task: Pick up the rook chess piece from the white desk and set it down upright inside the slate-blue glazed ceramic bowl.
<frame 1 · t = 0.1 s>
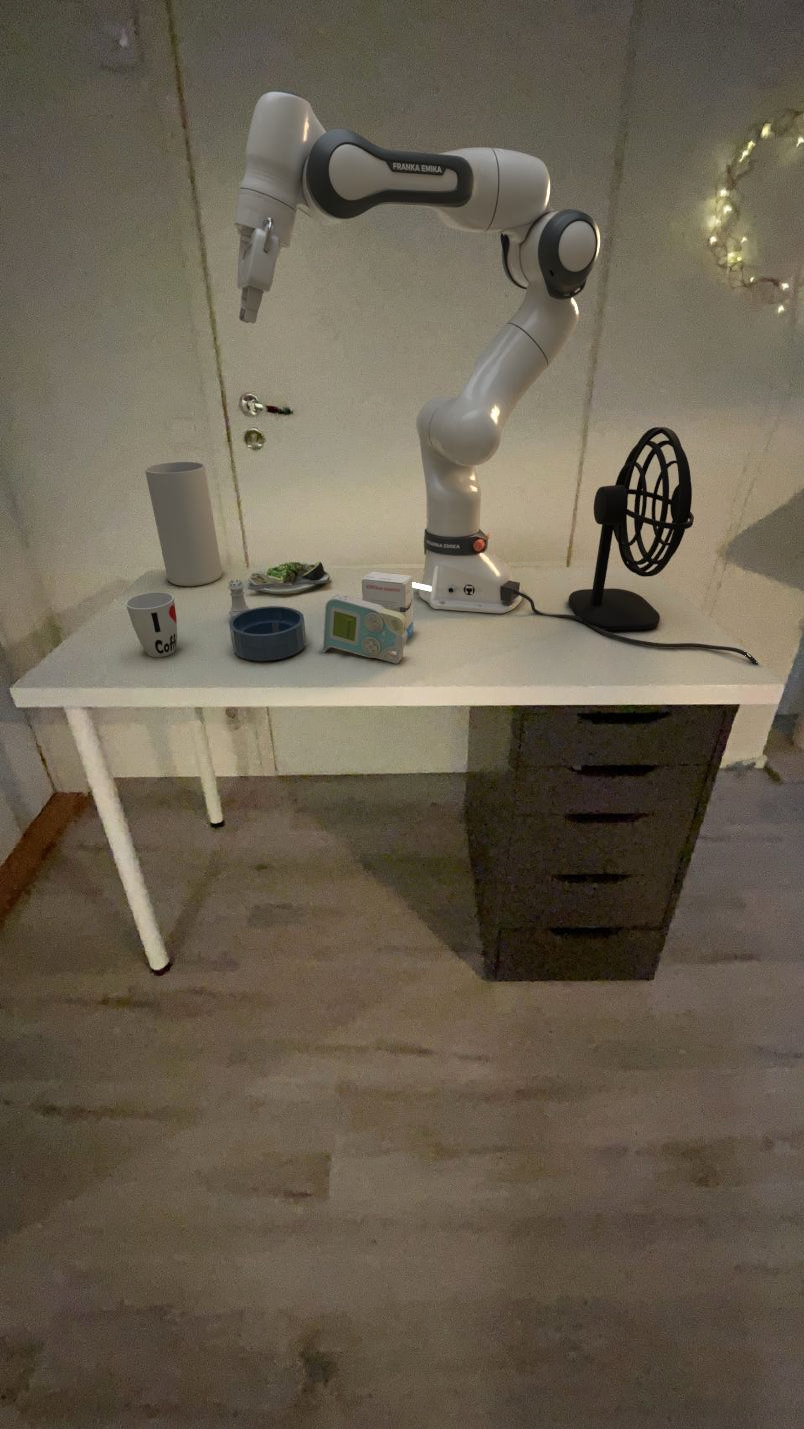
hand: (246, 322, 108), 52 cm above the table, tool tilted 20°, fingers open, 8 cm apart
cup: (161, 652, 121), on the table
bowl: (270, 647, 122), on the table
salad plate: (292, 583, 151), on the table
ink box: (389, 636, 126), on the table
desk fan: (616, 614, 134), on the table
rook chess piece: (241, 620, 133), on the table
cylinder vase: (195, 578, 155), on the table
handheld gaming console: (364, 657, 118), on the table
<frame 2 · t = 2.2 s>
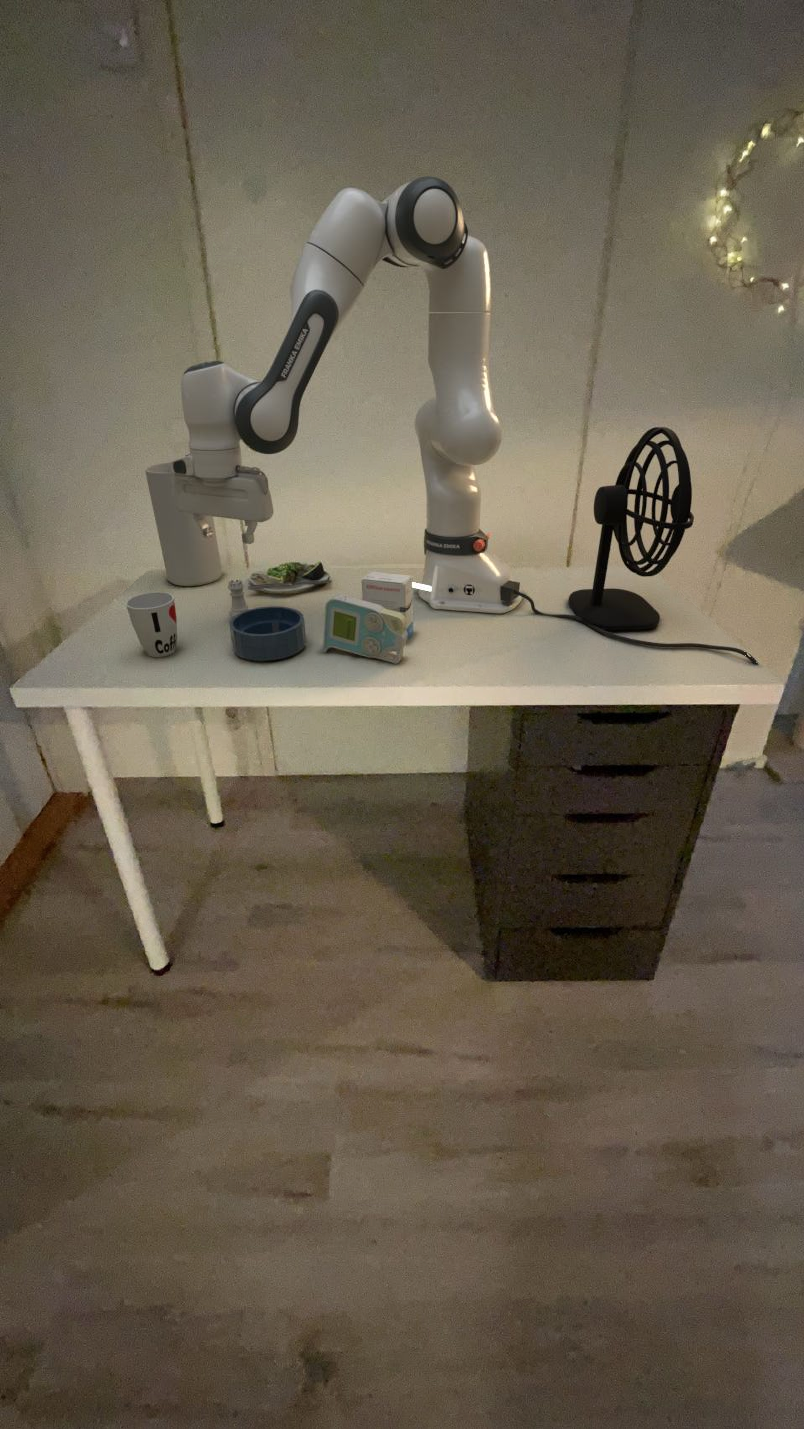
hand: (228, 540, 125), 16 cm above the table, tool pointing down, fingers open, 8 cm apart
nothing on the table moved.
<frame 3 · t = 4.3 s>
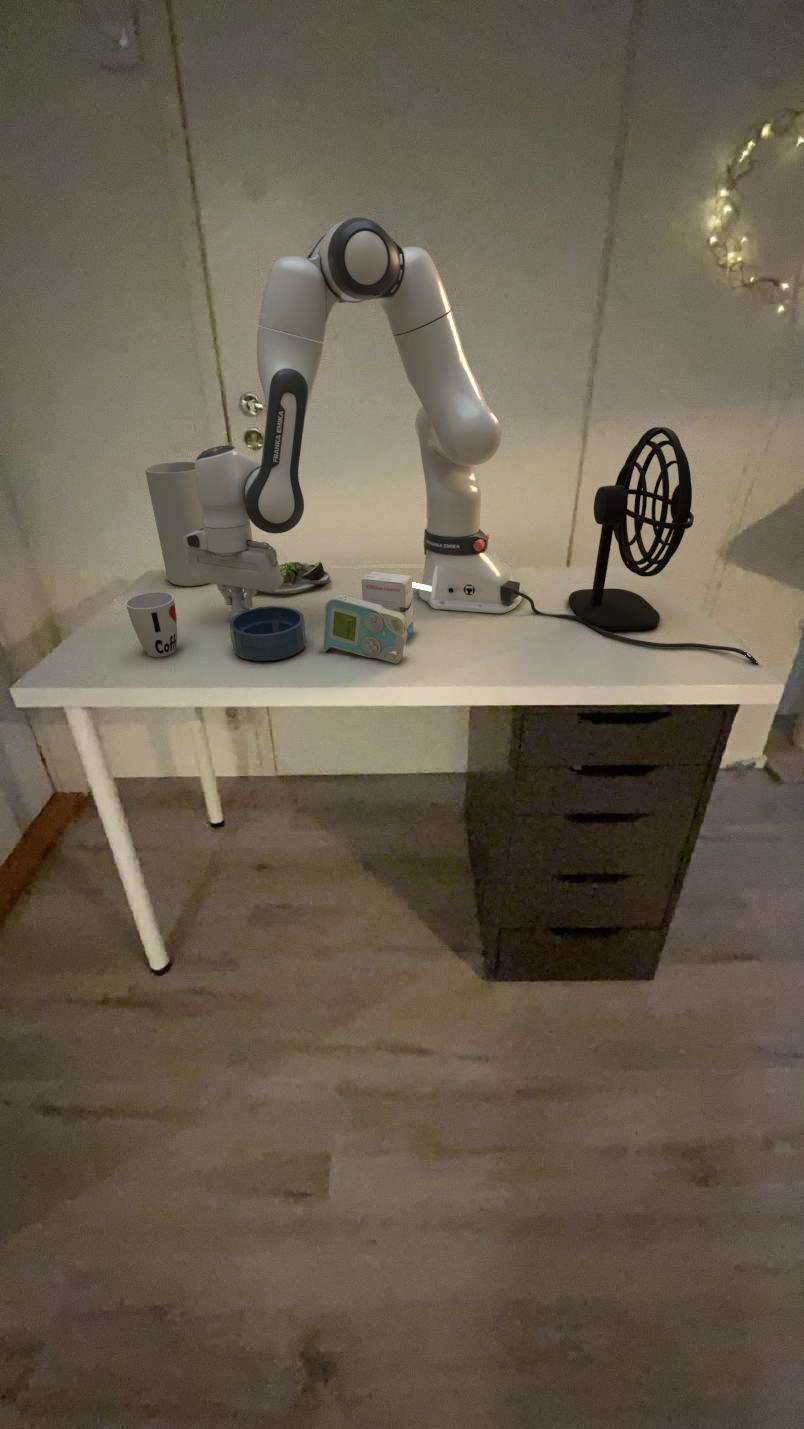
hand: (239, 605, 132), 3 cm above the table, tool pointing down, fingers closed on rook chess piece, 3 cm apart
rook chess piece: (241, 620, 133), on the table, touching gripper
everything else where it was.
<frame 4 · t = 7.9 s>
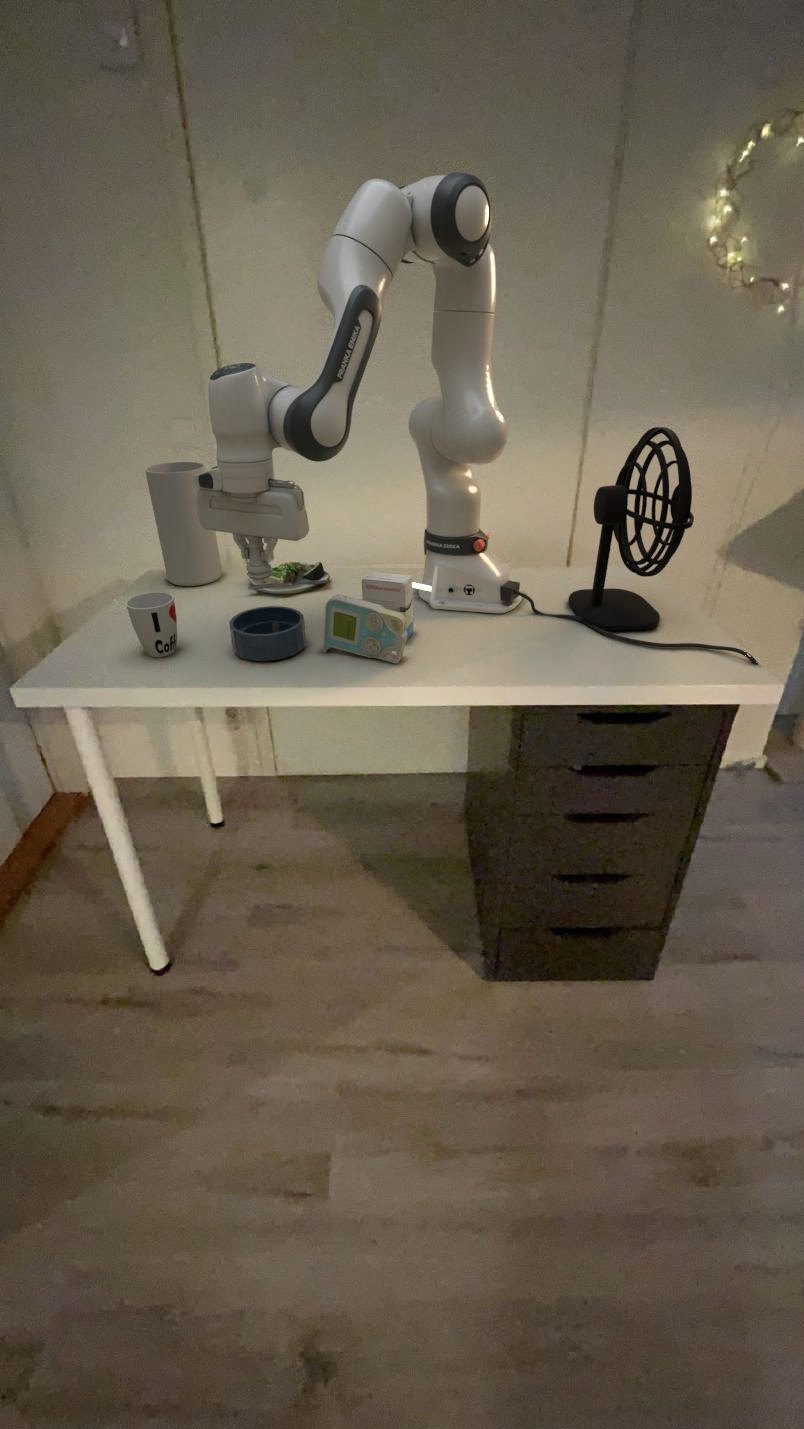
hand: (257, 559, 114), 17 cm above the table, tool pointing down, fingers closed on rook chess piece, 3 cm apart
rook chess piece: (260, 577, 115), point 13 cm above the table, touching gripper
everything else where it was.
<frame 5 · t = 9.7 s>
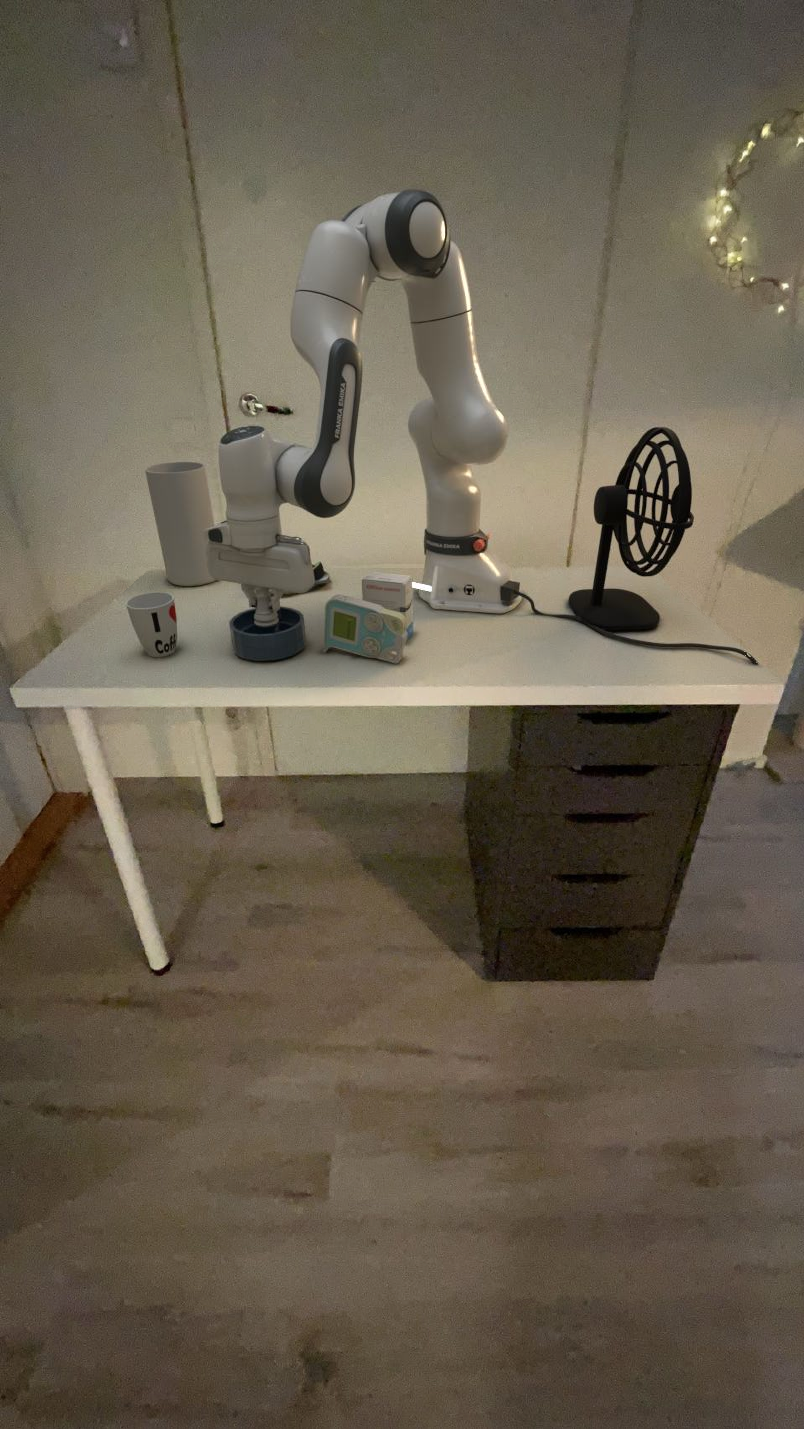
hand: (264, 608, 118), 8 cm above the table, tool pointing down, fingers closed on rook chess piece, 3 cm apart
rook chess piece: (266, 624, 119), point 5 cm above the table, touching gripper
everything else where it was.
when the fingers open (3 cm above the table, at t = 11.4 s): rook chess piece stays where it is, resting on bowl.
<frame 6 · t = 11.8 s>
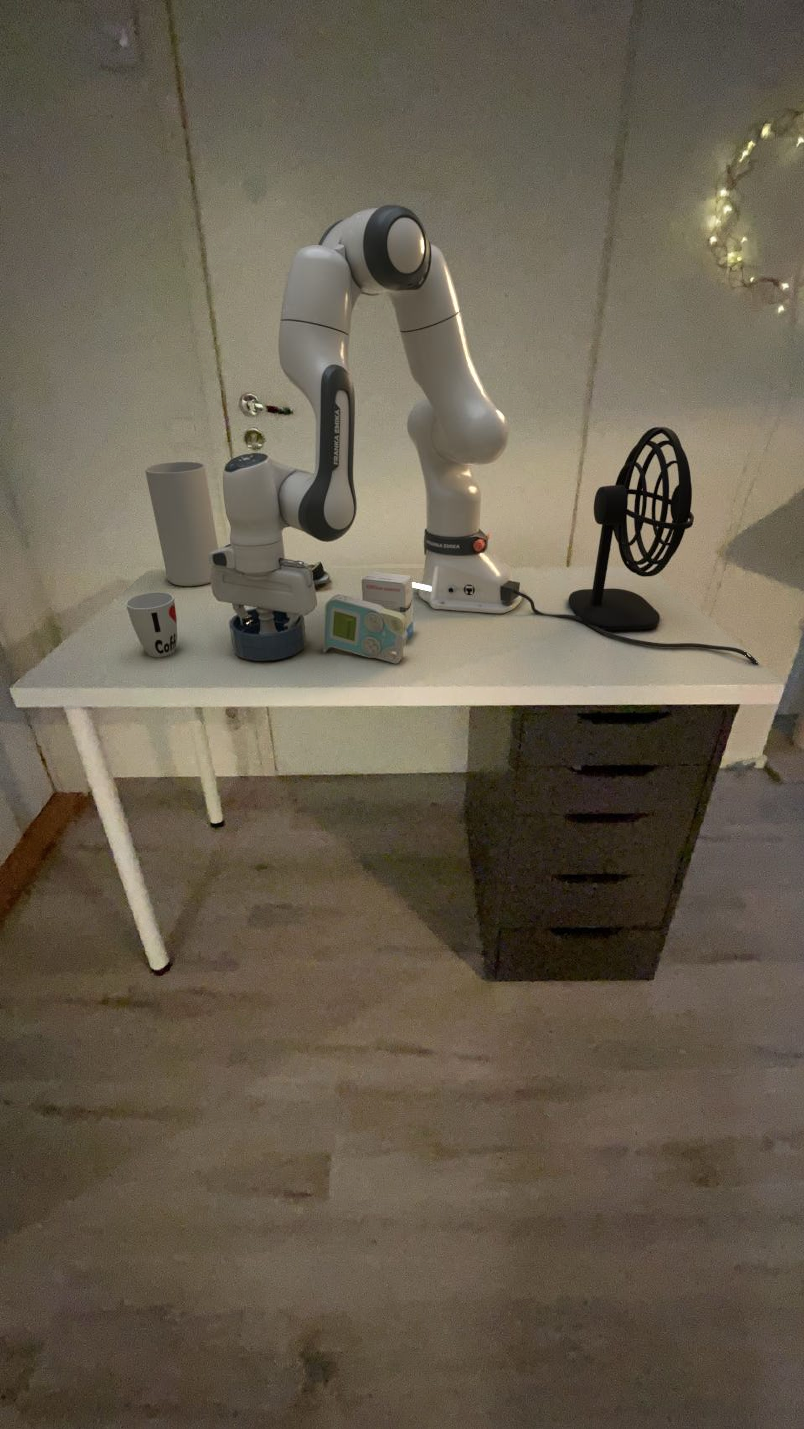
hand: (268, 629, 120), 4 cm above the table, tool pointing down, fingers open, 8 cm apart
rook chess piece: (270, 645, 122), resting on bowl
everything else where it was.
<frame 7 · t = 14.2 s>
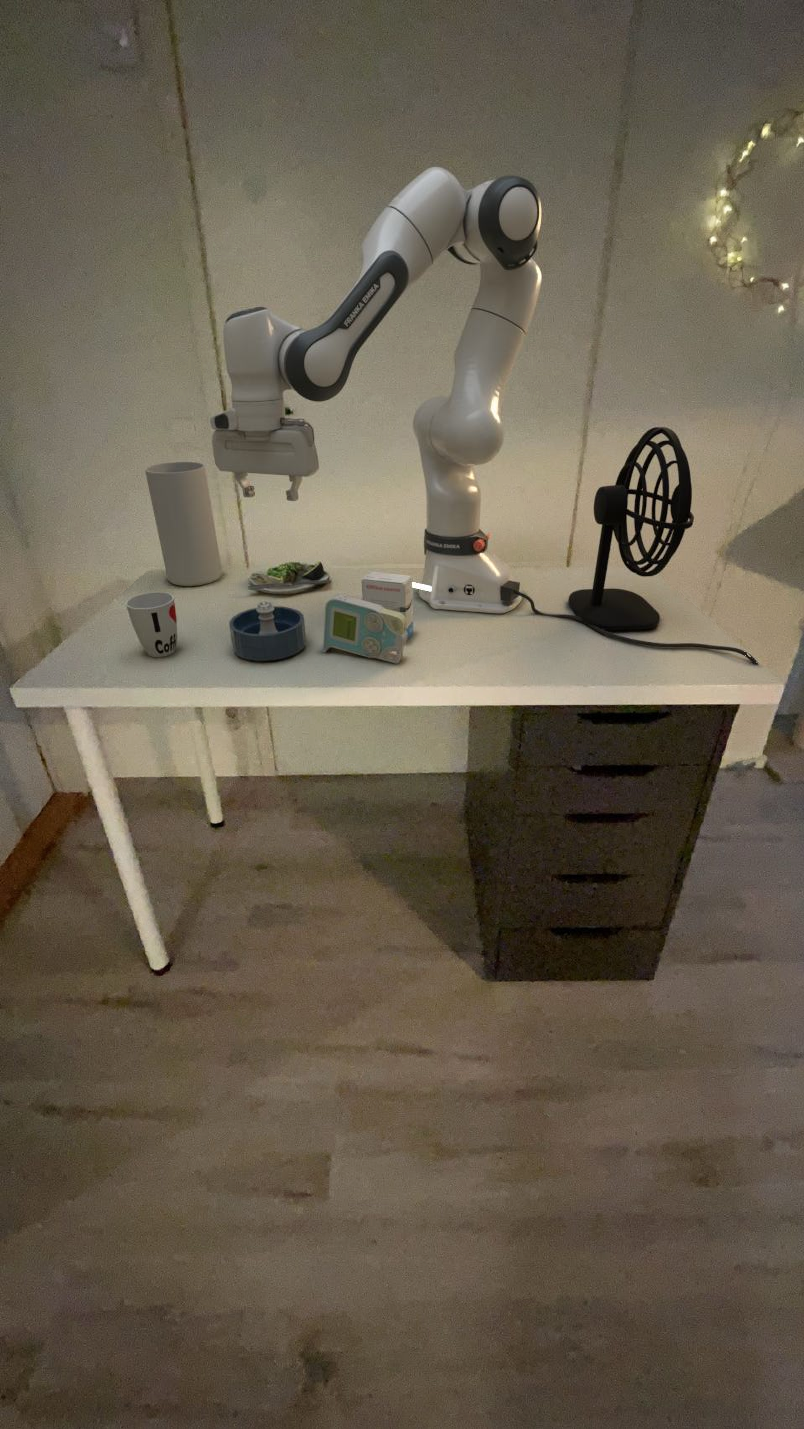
hand: (270, 498, 121), 24 cm above the table, tool pointing down, fingers open, 8 cm apart
nothing on the table moved.
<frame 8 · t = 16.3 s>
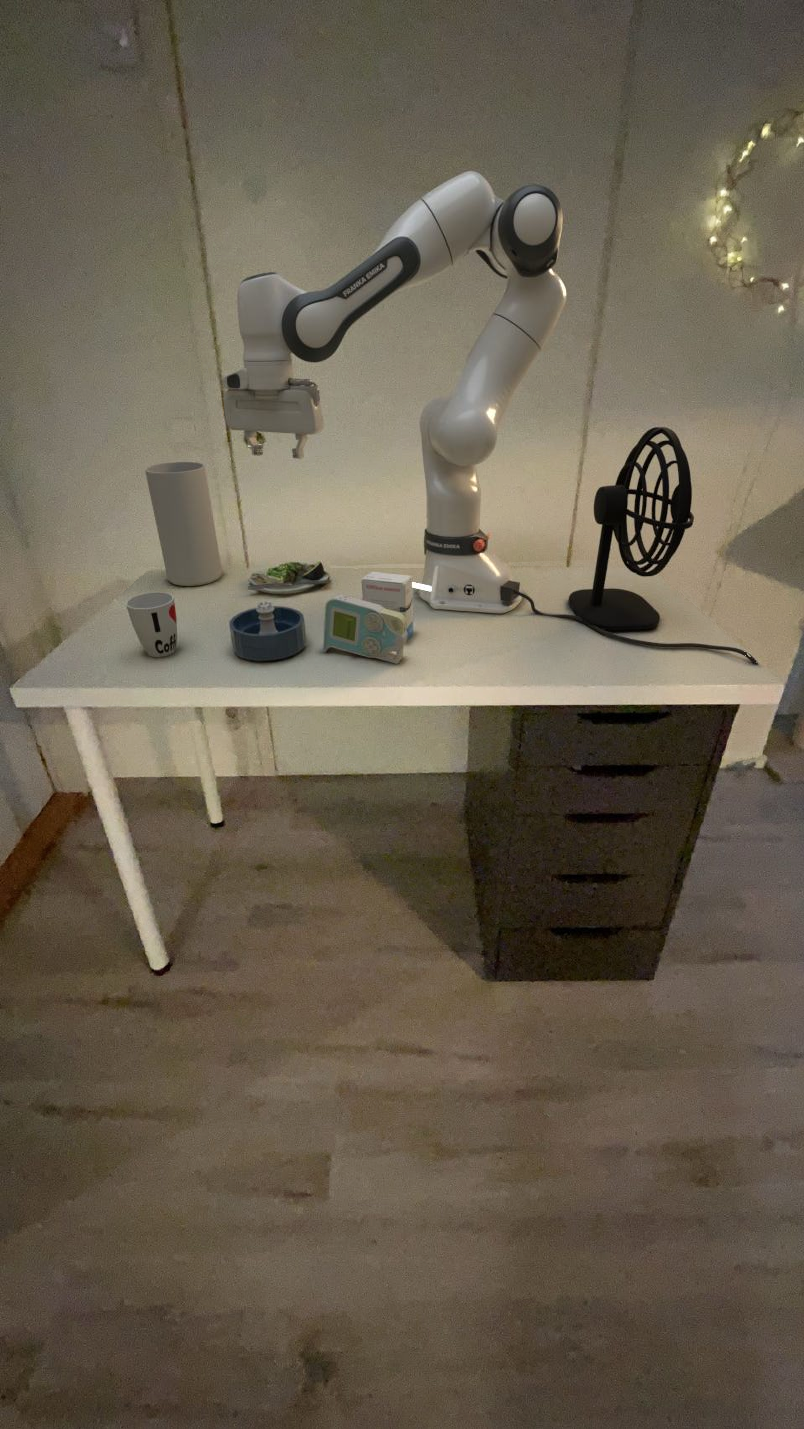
hand: (277, 456, 129), 29 cm above the table, tool pointing down, fingers open, 8 cm apart
nothing on the table moved.
at the end: rook chess piece inside the target area in the bowl (0.0 cm from its centre), point 0.4 cm above the bowl's base; rook chess piece tilted 0°; the gripper is holding nothing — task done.
